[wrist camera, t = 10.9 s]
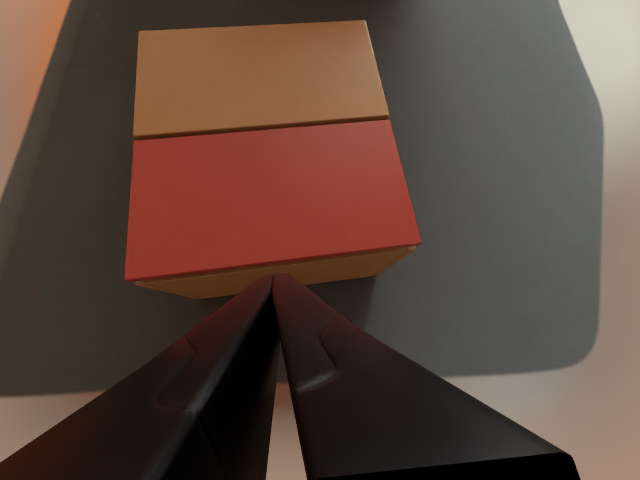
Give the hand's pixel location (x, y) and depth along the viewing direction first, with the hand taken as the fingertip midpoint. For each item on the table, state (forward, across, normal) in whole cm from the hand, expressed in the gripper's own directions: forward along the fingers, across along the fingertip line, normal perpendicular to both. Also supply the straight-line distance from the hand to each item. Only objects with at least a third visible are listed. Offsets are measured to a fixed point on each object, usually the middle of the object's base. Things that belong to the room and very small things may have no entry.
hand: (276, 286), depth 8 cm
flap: (+5, 0, +1) cm, 5 cm away
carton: (+12, 0, -2) cm, 13 cm away
